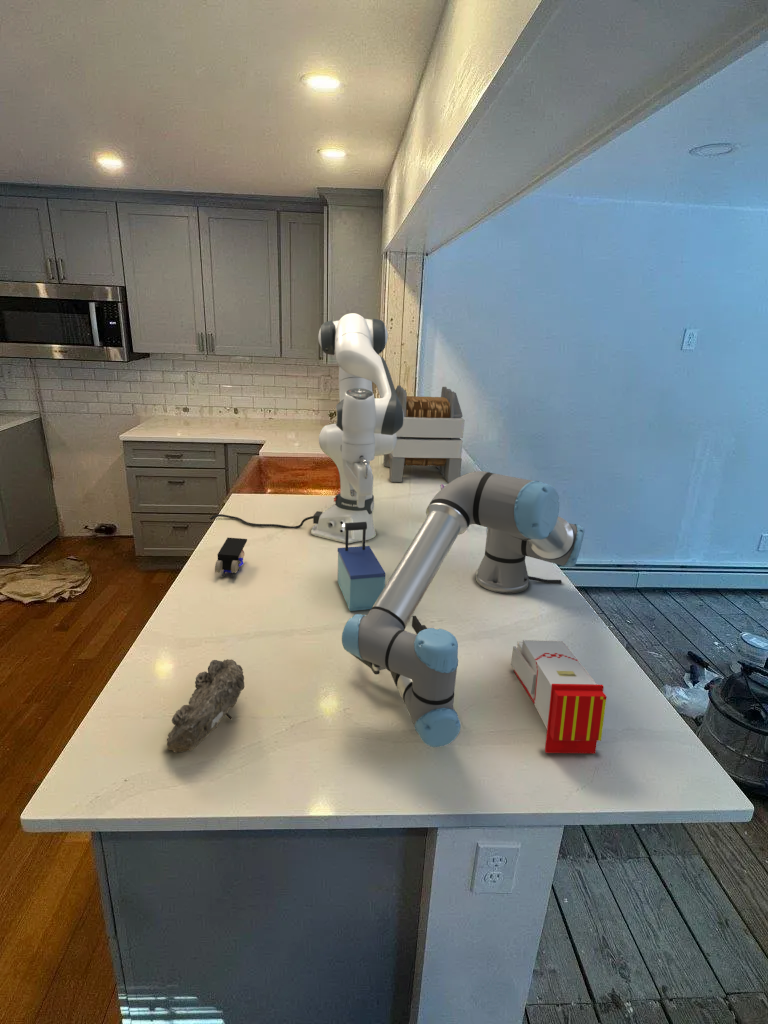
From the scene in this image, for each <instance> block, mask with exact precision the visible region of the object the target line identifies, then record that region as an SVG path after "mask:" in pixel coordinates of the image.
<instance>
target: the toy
mask: <svg viewBox="0 0 768 1024" xmlns="http://www.w3.org/2000/svg"><path fill="white" fill-rule="evenodd" d="M510 666H511V667H512V669H513V673H514V674H515V676H516V677H517V680H518V681H519V682H520V684H521V686H522V687H523V689H524V690H525V692H526V694H527V696H528V697H529V699H530V700H531V702H532V703H533V705H534V707H535V710H536V711H537V713H538V714H539V717H540V718H541V720H542V722H543V724H544V726H545V728H546V734H545V735H546V736H545V745H544V752H545V754H596V752H597V743H598V742H601V741H602V737H603V729H604V720H605V713H606V705H607V695H606V693H605V692H604V687H605V686H604V685H603V684H598V683H597V682H596V681H595V679H593V677H592V676H591V674H589V672H588V671H587V670H586V668H585V666H583V664H582V663H581V662H580V661H579V660H578V658H577V656H576V655H575V654H574V653H573V651H572V650H571V649H570V648H569V646H568V645H567V644H566V643H565V642H564V641H563V640H539V639H538V640H537V639H536V640H535V639H534V640H533V639H532V640H530V639H529V640H528V639H523V640H522V641H517V643H516V646H512V652H511V659H510Z"/></svg>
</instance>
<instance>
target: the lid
mask: <svg viewBox="0 0 768 1024" xmlns="http://www.w3.org/2000/svg"><path fill="white" fill-rule="evenodd" d="M366 529H367V523H366V522H353V523H345V531H346V538H345V543H344V547H337V554H338V553H339V556H340V558H341V560H342V562H343V564H344V566H345V568H346V571H347V573H348V575H349V577H350V579H362V578H374V577H385V578H386V575H387V574H386V571H385V569H384V567H383V566H382V565H381V563H380V561H379V559H378V558H377V556H376V555H375V553H374V551H373V550H372V548H371V546H370V545H366V540H365V537H366ZM351 530H363V539H362V541H361V542H362V544H361V545H360V546H359V545H358V546H349V543H348V532H349V531H351Z"/></svg>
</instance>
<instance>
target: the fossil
mask: <svg viewBox="0 0 768 1024" xmlns="http://www.w3.org/2000/svg"><path fill="white" fill-rule="evenodd" d="M243 670H244V669H243V667H242V665H240V664H237V662H236V661H235V660H234V659H232V658H231V659H227V658H226V659H224V660H223V661H222V660H217V659H212V660H211V661H210V663H209V665H208V666H207V671H201V672H199V673H198V674H197V675H196V676H195V680H194V684H195V685H194V687H195V689H194V690H193V693H192V694H191V697H190V698H189V700H188V704H184V705H182V706H181V707H180V709H177V710H176V711H175V713H174V715H173V716H172V718H171V723H172V724H173V727H172V730H171V731H170V732H168V734H167V738H166V741H167V742H166V745H167V749H168V750H169V751H173V752H174V753H176V754H178V753H182V752H188V751H189V752H192V751H193V750H195V748H196V747H197V746H199V744H200V743H201V742H203V741H204V740H205V739H206V738H207V737H208V736H209V735H210V734H211V733H212V732H214V730H215V729H217V727H218V726H219V724H220V722H221V721H222V720H223V719H224V718H225V716H226V717H227V719H229V720H233V717H232V715H230V714H229V710H230V709H231V708H234V706H235V704H236V703H237V702H238V699H239V697H240V695H241V693H242V691H243V690H245V689H244V688H245V675H244V671H243Z"/></svg>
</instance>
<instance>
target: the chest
mask: <svg viewBox="0 0 768 1024" xmlns="http://www.w3.org/2000/svg"><path fill="white" fill-rule="evenodd" d="M337 584H338V586H339V588H340V592H341V594H342V596H343V598H344V601H345V604H346V605H347V608H348V610H349V612H355V611H356V612H357V611H366V610H371V608H372V607H373V605H374V604H375V602H376V600H377V599H378V597H379V595H380V594H381V592H382V591H383V589H384V587H385V586H386V576H385V577H374V578H362V579H350V577H349V575H348V573H347V571H346V568H345V566H344V564H343V562H342V560H341V558H340V556H339V553H338V552H337Z"/></svg>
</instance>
